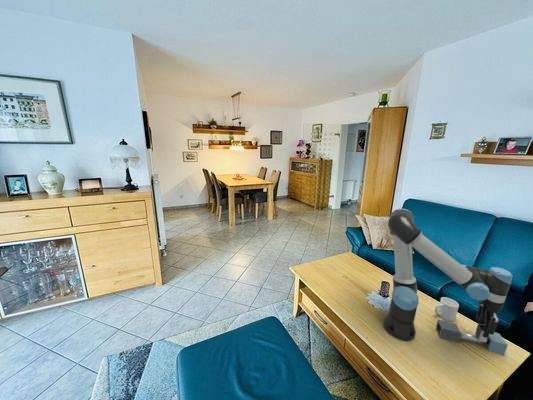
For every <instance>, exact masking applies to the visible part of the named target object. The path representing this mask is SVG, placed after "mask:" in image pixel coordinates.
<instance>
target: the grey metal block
mask: <svg viewBox="0 0 533 400" xmlns="http://www.w3.org/2000/svg"><path fill="white" fill-rule="evenodd" d="M435 325H436V327H435V331H438V332H439V336H438V337H439V339H442V340H445V341H449V342H454V343H458V344H459V343H460V339H461V338H460V336H461V332H462V331H461V330H460V328H459V327H458V325H457V323H454V322H452V321H447V320H443V319H437V321H436V324H435Z"/></svg>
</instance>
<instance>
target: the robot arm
mask: <svg viewBox="0 0 533 400" xmlns="http://www.w3.org/2000/svg"><path fill="white" fill-rule="evenodd" d="M387 227H388V229H389V234H390V235H391V236H392V237H393V249H394V250H393V251H394V254H393V255H394V267H395V268H394V270H395V271H394V272H395V274H393V276H392V293H391V298H390V299H391V300H390V305H389V310H388V313H387V314H386V315H385V317H384V319H383V328H384V330H385V331H386V332H387V333H388V334H389V335H390V336H392V337H393V338H396V339H398V340H400V341H404V342H410V341H413V340H414V339H415V337H416V333H417V332H416V327H415V323H414V322H415V319H416V314H417V309H418V306H419V295H418V286H417V285H418V284H417V279H416V277H415V276H414V271H413V270H414V269H413V267H414V266H413V249H415V250H416V251H417V252H418V253H419V254H421V255H422V256H423V257H424V258H425V259H427V260H428V261H429V262H431V263H432V264H433V265H434V266H436V267H437V269H439V270H441V271H442V272H443V273H444V274H445V275H447V276H448V277H449V278H451V279H452V280H453V281H454V282H455V283H457V285H459V286H461V287H462V288H463V289H464V290H465V292H466V293H467V295H468V296H469V297H470V298H472V299H473V300H476V301H478V306H477V307H478V308H477V311H476V315H475V320H477V326H476V328H475V332H474V335H475V334H476V331H477V327H478V324H480V325H484V329H482V330H481V334H480V337H479V341H482V342H487V339H488V336H489V334H492V335H493V334H494V332H495V333H496V330H497V327H498V325H499V323H500V322H501V319H500V318H498V317H497V316H498V312H500V311H502V310H503V307H504V303H505V301H506V299H507V295H508V293H509V290H510V287H511V285H512V280H513V274H512V273H511V272H510V271H509V270H506V269H505V268H502V267H496V266H492V267H490V269H489V270H487V269H484V268H483V269H482V268H478V267H475V266H470V265H468V264H461V263H460V262H458V261H457V260H456V259H455V258H453V256H451V255H449V254H448V253H447V252H446V251H444V250H443V249H442V248H441V247H439V246H438V245H437V244H435V243H434V242H433V241H431V240H430V239H428V238H427V237H426V236H425V235H424V234H423V231H422V230H421V229H419V228H418V227H417V226H416V225H415V216H414V214H413V213H412V211H410V210H409V209H406V208H396V209H395V210H393V211H392V212H391V213H390V214H389V219H388V220H387Z"/></svg>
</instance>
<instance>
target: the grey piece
mask: <svg viewBox="0 0 533 400" xmlns="http://www.w3.org/2000/svg"><path fill="white" fill-rule="evenodd" d="M477 325H478V327H477V326H476V328H477V331H476V330H475V332H476V334H475V333H474V334H472V333H468V332H464V331H460V332H461V336H460V339H461V340H462V339H463V340H466V341H469V342H472V343H473V342H474V343H477V344H481V345H484V346H488V345H489V342H490V340H489V339H487V342H482V341H479V337H480V334H481V330H482V329H484V324H483V325H480V324H478V323H477Z"/></svg>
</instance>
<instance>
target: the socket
mask: <svg viewBox="0 0 533 400" xmlns="http://www.w3.org/2000/svg"><path fill="white" fill-rule="evenodd" d="M488 339H489V340H490V342H489V345H487V351H488V352H490V353H494V354H498V355H500V356H501V355H502V356H505V354H506V351H507V349H508V346H509V344H508V343H507V342H506V340H505V339H504V337H502V335H501V334H500V333H498V332H496V331H495V332H494V334H493V335H492V334H489V336H488Z"/></svg>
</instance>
